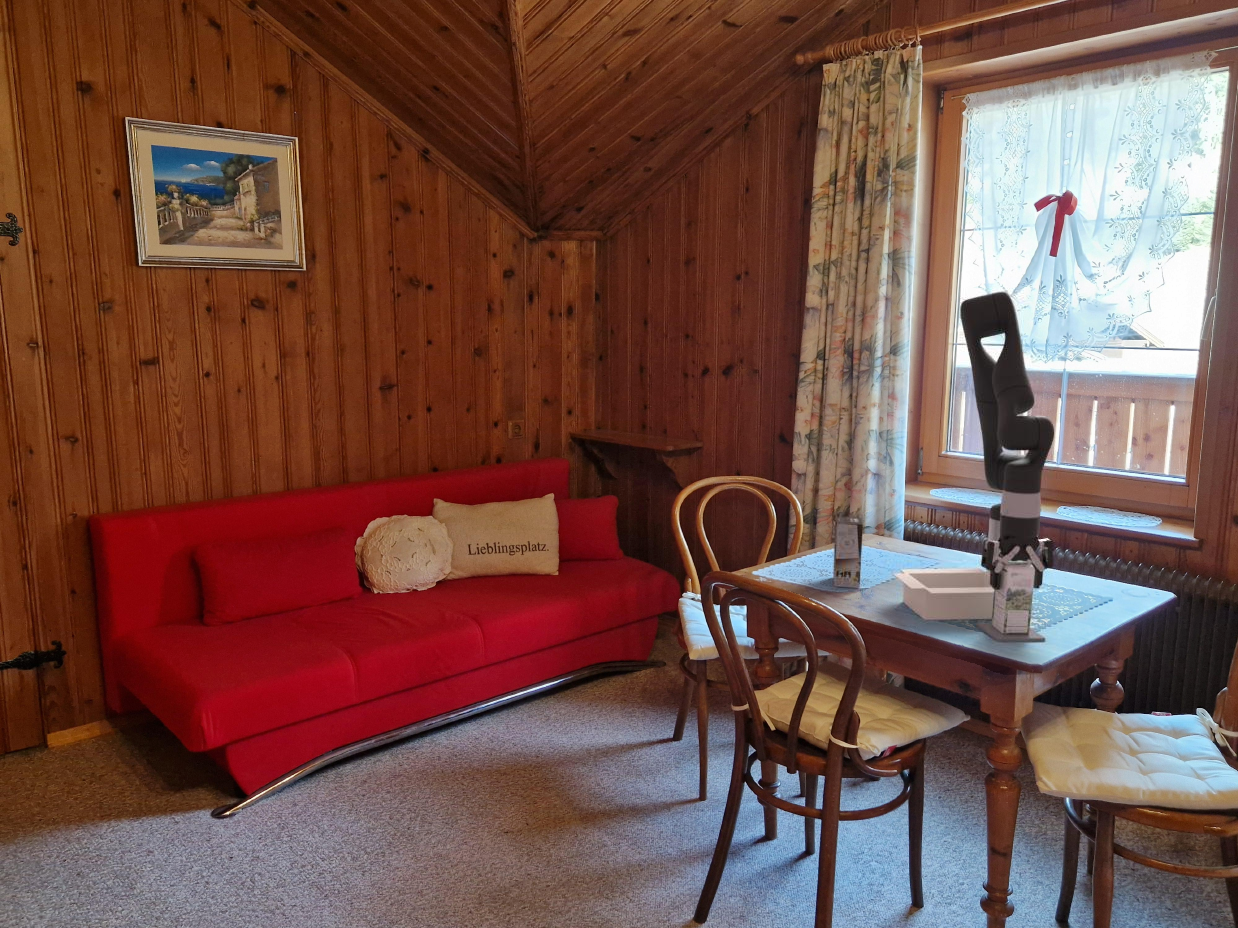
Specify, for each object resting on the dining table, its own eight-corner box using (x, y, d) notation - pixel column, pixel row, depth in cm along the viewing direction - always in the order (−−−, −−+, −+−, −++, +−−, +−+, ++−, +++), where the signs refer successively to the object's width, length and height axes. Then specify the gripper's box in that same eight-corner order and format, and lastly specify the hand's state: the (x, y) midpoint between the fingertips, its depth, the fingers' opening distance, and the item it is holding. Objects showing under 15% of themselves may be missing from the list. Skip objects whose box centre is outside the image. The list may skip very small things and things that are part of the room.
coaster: (1021, 624, 197) (1021, 622, 197) (1045, 640, 188) (1045, 637, 187) (976, 625, 197) (976, 622, 197) (997, 641, 187) (997, 638, 187)
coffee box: (860, 588, 224) (863, 524, 222) (833, 587, 226) (836, 523, 223) (858, 578, 233) (861, 516, 231) (832, 577, 235) (835, 515, 232)
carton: (989, 596, 218) (991, 568, 217) (1029, 622, 199) (1032, 591, 198) (885, 598, 217) (887, 569, 215) (916, 624, 198) (917, 593, 196)
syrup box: (1017, 625, 195) (1022, 559, 193) (1030, 634, 189) (1035, 566, 187) (990, 625, 195) (995, 559, 193) (1003, 635, 189) (1008, 567, 187)
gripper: (1044, 507, 192) (1039, 582, 195) (978, 509, 191) (974, 584, 194) (1063, 515, 185) (1058, 592, 187) (995, 517, 184) (990, 594, 187)
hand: (1015, 588), depth 191 cm, fingers open, 8 cm apart
